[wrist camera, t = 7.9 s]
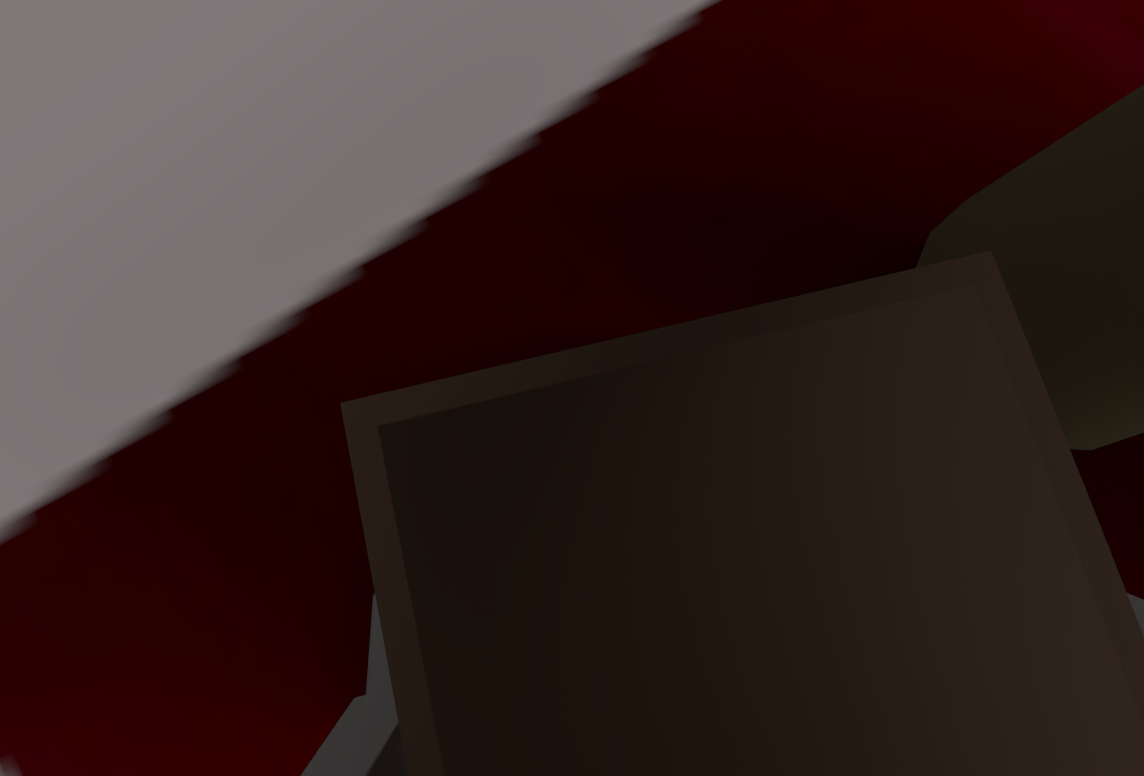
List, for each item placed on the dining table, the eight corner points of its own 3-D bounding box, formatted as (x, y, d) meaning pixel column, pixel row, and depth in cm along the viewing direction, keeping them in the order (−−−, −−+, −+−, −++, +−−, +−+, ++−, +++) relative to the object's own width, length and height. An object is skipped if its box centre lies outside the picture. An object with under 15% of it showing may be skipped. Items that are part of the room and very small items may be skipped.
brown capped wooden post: (687, 460, 17) (990, 250, 5) (742, 658, 16) (1280, 984, 4) (499, 507, 16) (340, 402, 5) (544, 710, 15) (492, 1233, 4)
